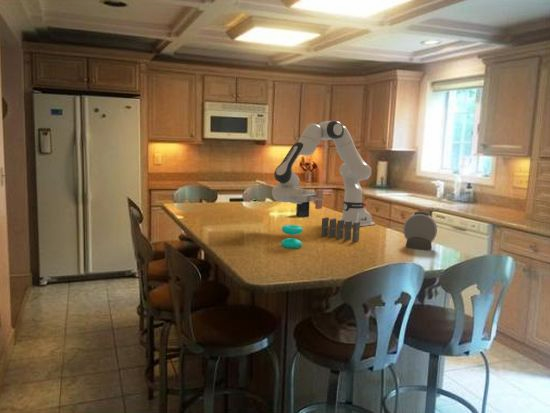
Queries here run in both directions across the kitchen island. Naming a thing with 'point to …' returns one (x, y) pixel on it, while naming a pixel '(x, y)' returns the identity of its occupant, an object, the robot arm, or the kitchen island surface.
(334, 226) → the domino
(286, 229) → the donuts
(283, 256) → the kitchen island surface
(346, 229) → the domino
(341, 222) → the domino
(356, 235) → the domino
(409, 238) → the alarm clock
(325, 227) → the domino
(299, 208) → the box
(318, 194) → the domino
